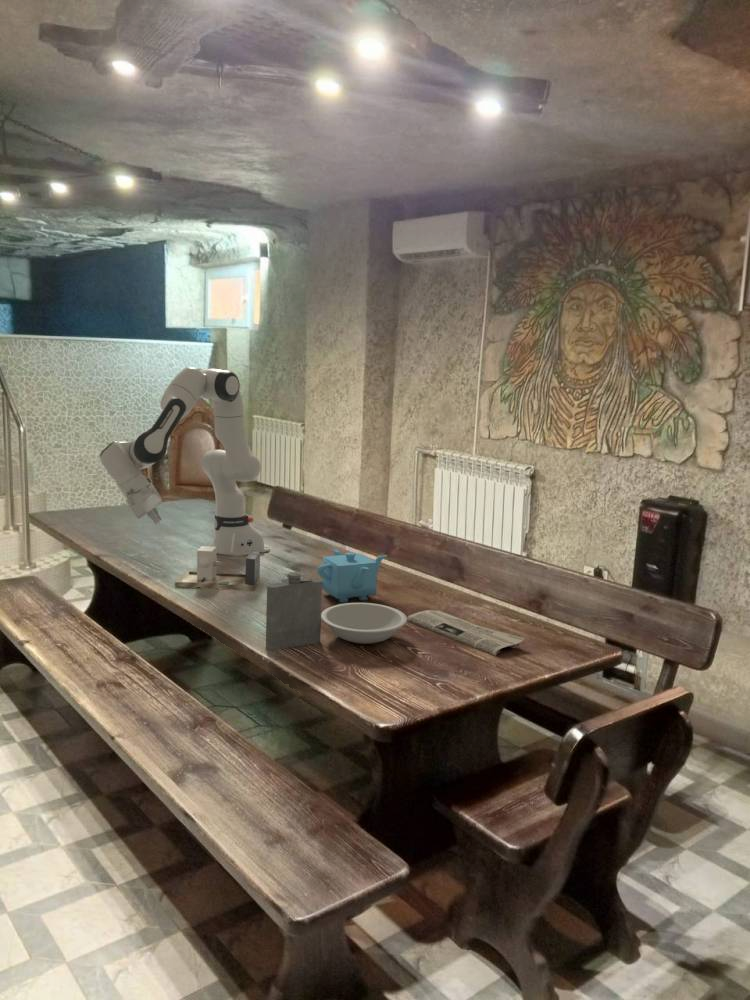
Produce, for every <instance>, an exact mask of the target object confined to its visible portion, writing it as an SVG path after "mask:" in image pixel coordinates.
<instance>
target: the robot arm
mask: <svg viewBox="0 0 750 1000" xmlns="http://www.w3.org/2000/svg"><path fill="white" fill-rule="evenodd" d="M240 385H241V384H240V380H239V378H238V376H237V374H236V373H235V372H233V371H230V370H227V369H226V370H225V369H224V370H223V369H218V368H196V367H195V366H194V367H193V366H187V367H185V368H183V369H182V370H181V371H180V372H178V373H177V375H176V376H175V377H174V378H173V379H172V380H171V382H170V383H169V384H168V385H167V388H166V389H165V391H164V393H163V395H162V397H161V399H160V402H159V403H160V404H159V405H160V407H161V409H162V410H161V413H160V414H159V416H158V417H157V419H156V421H155V422H154V423H153V425H152V427H151V428H150V429H148V430H146V431H145V432H142V433H141V434H140V435H139V436H138V437H137V438H136V439H135V440H131V441H118V440H113V441H112V442H111V443H109V444H108V445H106V447H105V448H104V449H103V450H102V451H101V452H100V455H99V459H100V463H101V464H102V465H103V467H104V469H105V470H106V472H107V473H108V475H109V477H111V478H112V479H113V480H114V481H115V483H116V486H117V488H118V489H119V490H120V492H121V493H122V495H123V496H124V497H125V499H126V502H127V504H128V507H129V508H130V509H131V511H132V513H133V514H134V516H135V517H136V518H137V519H140V518H142V517H144V516H145V515H147V517H148V518H149V519H151V520H152V521H153V523H154V524H158V523H160V522H162V519H163V518H162V517H161V516H160V513H159V510H158V508H157V507H158V506H160V505H161V504H162V503H163V499H162V497H161V495H160V494H159V492H158V490H157V489H156V488H155V486H154V485H153V481H152V479H151V478H150V477H147V476H145V475H144V474H143V473H142V472H141V470H144V469H147V468H150V467H151V466H152V465H153V466H154V464H156V463H157V462H160V461H161V460H162V459H163V458H164V457H165V455H166V453H167V449H168V443H169V439H170V437H171V435H172V433H173V432H174V430H175V428H176V427H177V425H178V424H179V422H180V421H181V420H182V419H184V418H185V417H186V416H188V415H189V413H190V412H191V411H192V410H193V409H194V407H195V406H196V404H197V402H198V401H199V400H200V398H202V399H205V400H210V401H211V400H212V401H213V403H214V404H213V421H214V425H213V426H214V436H215V438H216V439H217V440H218V441H219V442H220V443H221V445H222V446H223V449H212V450H208V451H206V452H205V453H204V454H203V456H202V459H201V469H202V471H203V472H204V473H205V474H206V476H207V477H208V478H209V480H210V483H211V485H212V488H213V492H214V496H215V498H214V499H215V514H214V520H213V523H214V524H213V526H214V536H213V542H212V545H211V547H216V554H218V555H219V554H220V555H228V556H234V557H239V556H240V557H241V556H247V555H246V554H248V555H249V553H250V552H251V551H260V552H262V553H267V552H266V551H268V552H270V546H269V545H268V544H266V543H265V541H264V536H263V534H262V533H261V532H260V531H259V530H258V529H256V527H254V526H252V525H251V524H250V523H253V522H254V518H253V516H249V515H247V514H246V513H245V512H246V497H245V494H244V492H243V491H242V490H241V489H240V488H239V486H238V484H237V482H242V483H244V482H252V481H255V480H256V479H258V477H259V475H260V474H261V470H262V466H261V462H260V459H259V458H258V457H257V456H256V455H255V454H254V452H252V450H251V448H250V445H249V443H248V440H247V437H246V432H245V416H244V415H245V413H244V404H243V403H244V402H243V398H242V397H243V396H242V394H241V391H240V389H241V388H240Z"/></svg>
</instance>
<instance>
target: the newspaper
mask: <svg viewBox="0 0 750 1000" xmlns="http://www.w3.org/2000/svg"><path fill="white" fill-rule="evenodd" d="M406 617H407V622H409V623H412V624H414V625H416V626H419V627H422V628H424V629H427V630H429V631H432V632H434V633H437V634H440V635H442V636H444V637H447V638H450V639H452V640H455V641H457V642H460V643H462V644H464V645H467V646H469V647H472V648H475V649H477V650H480V651H481V652H485V653H487V654H490V655H492V656H497V654H500V653H502V651H501V649H503V648H507V647H509V648H511V649H517V648H519V646H520V643H522V642H523V641H524V640H525V637H521V636H518V635H513V634H511V633H506V632H504V631H503V632H502V631H499V630H495V629H492V628H489V627H484V626H480V625H478V624H476V623H473V622H470V621H467V620H465V619H462V618H460V617H457V616H455V615H452V614H449V613H446V612H444V611H442V610H439V609H438V610H433V609H430V610H429V609H427V610H423V611H422V610H421V611H418V612H414V613H413V614H410V615H408V616H406Z"/></svg>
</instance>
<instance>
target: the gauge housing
mask: <svg viewBox="0 0 750 1000" xmlns="http://www.w3.org/2000/svg"><path fill="white" fill-rule="evenodd" d="M221 564H222V561H218V560H217V553H216V547H212V546H208V545H207V546H206V545H204V546H203V545H201V546H200V547H199V548H198V549H197V550H196V572H197V580H202V582H204V581H205V580H211V581H212V580H213V579H214V577H215V576H216V573H217V567H221Z"/></svg>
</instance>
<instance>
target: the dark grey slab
mask: <svg viewBox="0 0 750 1000" xmlns="http://www.w3.org/2000/svg"><path fill="white" fill-rule="evenodd" d="M260 569H261V553H260V551H251V552H250V553H249V554H248V555H246V558H245V584H246V585H255V584H256V582H257V580H258V579H259V577H260V578H261V574H260V573H261V572H260V571H261V570H260Z"/></svg>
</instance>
